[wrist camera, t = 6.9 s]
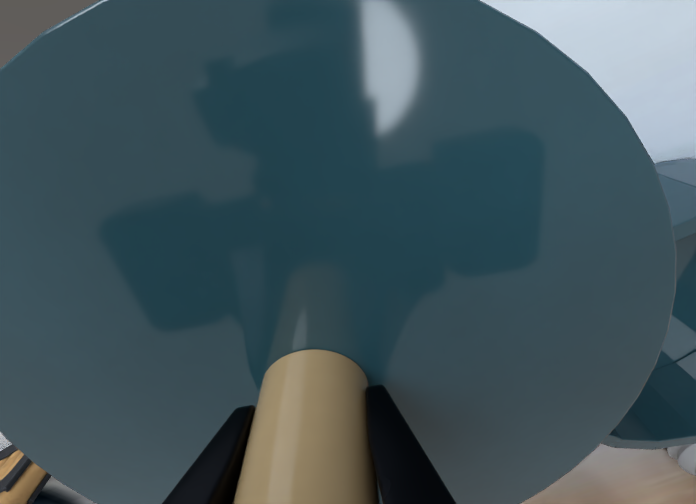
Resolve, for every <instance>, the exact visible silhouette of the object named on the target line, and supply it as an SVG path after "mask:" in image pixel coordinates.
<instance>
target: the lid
mask: <svg viewBox="0 0 696 504" xmlns="http://www.w3.org/2000/svg"><path fill="white" fill-rule="evenodd" d="M676 253H677V251H676V245H675V239H674V232H673V226H672V220H671V213H670V208H669V205H668V202H667V199H666V196H665V194H664V191H663V188H662V185H661V182H660V180H659V177H658V174H657V171H656V169H655V166H654V163H653V161H652V159H651V158H650V156H649V154H648V153H647V151H646V149H645V148H644V146H643V144H642V142H641V141H640V139H639V137H638V136H637V134H636V132H635V131H634V129H633V127H632V125H631V124H630V122H629V120H628V119H627V117H626V116H625V114H624V113H623V112H622V111H621V110H620V109H619V108H618V106H617V105H616V104H615V103H614V102H613V101H612V100H611V98H610V97H609V96H608V95H607V94H606V93H605V92H604V90H603V89H602V88H601V87H600V86H599V85H598V83H597V82H596V81H595V80H594V79H593V78H592V77H591V75H590V74H589V73H588V72H587V71H586V70H584V69H583V68H582V67H581V66H579V65H578V64H577V63H576V62H574V61H573V60H572V59H571V58H569V57H568V56H567V55H566V54H564V53H563V52H562V51H561V50H559V49H558V48H557V47H556V46H554V45H553V44H552V43H551V42H549V41H548V40H547V39H546V38H544V37H543V36H542V35H541V34H539V33H538V32H537V31H535V30H533V29H531V28H529V27H528V26H526V25H524V24H522V23H520V22H518V21H517V20H515V19H513V18H511V17H509V16H508V15H506V14H504V13H502V12H500V11H498V10H497V9H495V8H493V7H491V6H489V5H487V4H486V3H484V2H482V1H480V0H98V1H97V2H95V3H93V4H91V5H89V6H88V7H86V8H84V9H82V10H81V11H79V12H77V13H75V14H74V15H72V16H70V17H68V18H67V19H65V20H63V21H62V22H59V23H58V24H56V25H54V26H52V27H51V28H49V29H47V30H45V31H44V32H43V33H41V34H40V35H39V36H38V37H37V38H35V39H34V40H33V41H32V42H31V43H30V44H29V45H27V46H26V47H25V48H24V49H23V50H21V51H20V52H19V53H18V54H17V55H16V56H14V57H13V58H12V59H11V60H10V61H9V62H8V63H6V64H5V65H4V66H3V67H2V68H0V432H1V433H2V434H3V436H4V437H5V438H6V439H7V440H8V441H10V442H11V443H12V444H13V445H14V446H15V447H16V448H17V449H19V450H20V451H21V452H22V453H23V454H24V455H25V456H27V457H28V458H29V459H30V460H31V461H32V462H33V463H35V464H36V465H37V466H39V467H40V468H42V469H43V470H44V471H46V472H47V473H48V474H50V475H51V476H53V477H54V478H55V479H57V480H58V481H60V482H61V483H62V484H64V485H66V486H67V487H69V488H71V489H72V490H74V491H76V492H77V493H79V494H81V495H83V496H84V497H86V498H88V499H89V500H91V501H93V502H95V503H97V504H162V503H163V502H164V500H165V499H166V498H167V497H168V495H169V494H170V493H171V491H172V490H173V489H174V487H175V486H176V485H177V484H178V482H179V481H180V480H181V478H182V477H183V476H184V475H185V473H186V472H187V471H188V469H189V468H190V467H191V466H192V464H193V463H194V462H195V460H196V459H197V458H198V456H199V455H200V454H201V453H202V451H203V450H204V449H205V447H206V446H207V445H208V444H209V442H210V441H211V440H212V438H213V437H214V436H215V434H216V433H217V432H218V431H219V429H220V428H221V427H222V425H223V424H224V423H225V422H226V420H227V419H228V418H229V416H230V415H231V414H232V413H233V411H234V410H235V409H236V408H238V407H243V406H249V405H253V406H255V407H256V409H255V413H254V417H253V421H252V426H251V430H250V434H249V438H248V442H247V447H246V451H245V455H244V459H243V463H242V468H241V472H240V476H239V480H238V484H237V489H236V493H235V497H234V501H233V504H383V502H382V498H381V493H380V489H379V484H378V480H377V475H376V471H375V467H374V462H373V458H372V453H371V449H370V444H369V438H368V425H367V407H366V388H367V387H368V386H373V385H379V384H382V385H384V386H385V388H386V389H387V391H388V393H389V394H390V396H391V398H392V399H393V401H394V403H395V404H396V406H397V407H398V409H399V411H400V412H401V414H402V416H403V417H404V419H405V420H406V422H407V424H408V425H409V427H410V429H411V430H412V432H413V434H414V435H415V437H416V438H417V440H418V442H419V443H420V445H421V447H422V448H423V450H424V451H425V453H426V455H427V456H428V458H429V460H430V461H431V463H432V465H433V466H434V468H435V469H436V471H437V473H438V474H439V476H440V478H441V479H442V481H443V482H444V484H445V486H446V487H447V489H448V491H449V492H450V494H451V496H452V497H453V499H454V500H455V502H456V504H520V503H522V502H524V501H525V500H527V499H529V498H531V497H532V496H534V495H536V494H537V493H539V492H541V491H542V490H544V489H546V488H547V487H548V486H550V485H551V484H553V483H554V482H555V481H557V480H558V479H560V478H561V477H562V476H564V475H565V474H567V473H568V472H569V471H571V470H572V469H573V468H574V467H575V466H577V465H578V464H579V463H580V462H581V461H582V460H583V459H585V458H586V457H587V456H588V455H589V454H590V453H591V452H593V451H594V450H595V449H596V448H597V447H598V446H599V445H600V444H601V442H602V441H603V440H604V439H605V438H606V437H607V436H608V435H609V434H610V433H611V432H612V430H613V429H614V428H615V427H616V426H617V425H618V424H619V423H620V421H621V420H622V418H623V417H624V416H625V414H626V413H627V412H628V410H629V409H630V407H631V406H632V405H633V403H634V402H635V400H636V399H637V398H638V396H639V395H640V393H641V391H642V389H643V387H644V385H645V383H646V382H647V380H648V378H649V376H650V374H651V372H652V370H653V369H654V367H655V365H656V362H657V359H658V357H659V354H660V351H661V349H662V346H663V343H664V340H665V338H666V335H667V332H668V329H669V324H670V318H671V313H672V308H673V303H674V298H675V293H676Z"/></svg>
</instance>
